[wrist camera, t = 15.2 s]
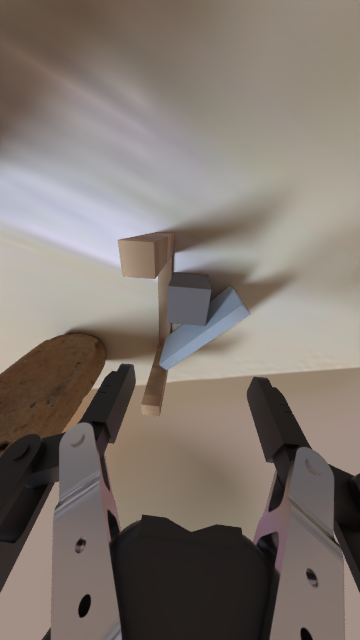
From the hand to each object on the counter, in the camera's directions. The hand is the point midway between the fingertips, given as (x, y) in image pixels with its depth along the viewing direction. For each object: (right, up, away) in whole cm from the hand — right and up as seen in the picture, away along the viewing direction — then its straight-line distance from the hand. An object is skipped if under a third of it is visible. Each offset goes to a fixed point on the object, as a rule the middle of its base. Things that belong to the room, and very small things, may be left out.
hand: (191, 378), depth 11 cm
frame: (-3, +7, +15) cm, 17 cm away
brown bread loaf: (-21, -1, +22) cm, 30 cm away
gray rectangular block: (+1, +9, +14) cm, 16 cm away
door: (+3, +4, +16) cm, 16 cm away
